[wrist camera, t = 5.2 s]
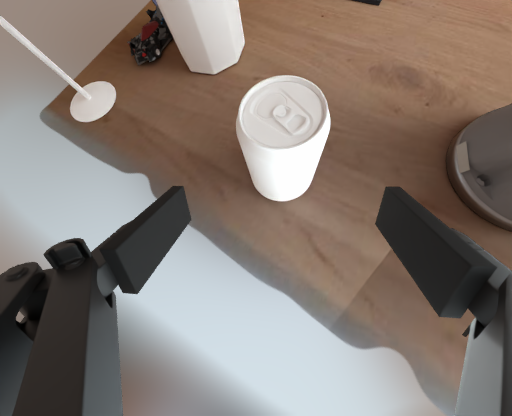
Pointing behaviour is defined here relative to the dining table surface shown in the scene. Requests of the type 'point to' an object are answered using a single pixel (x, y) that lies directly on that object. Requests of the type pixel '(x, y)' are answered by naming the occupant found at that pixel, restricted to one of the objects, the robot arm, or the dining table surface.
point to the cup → (205, 32)
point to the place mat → (370, 1)
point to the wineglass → (75, 85)
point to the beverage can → (283, 134)
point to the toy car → (151, 38)
